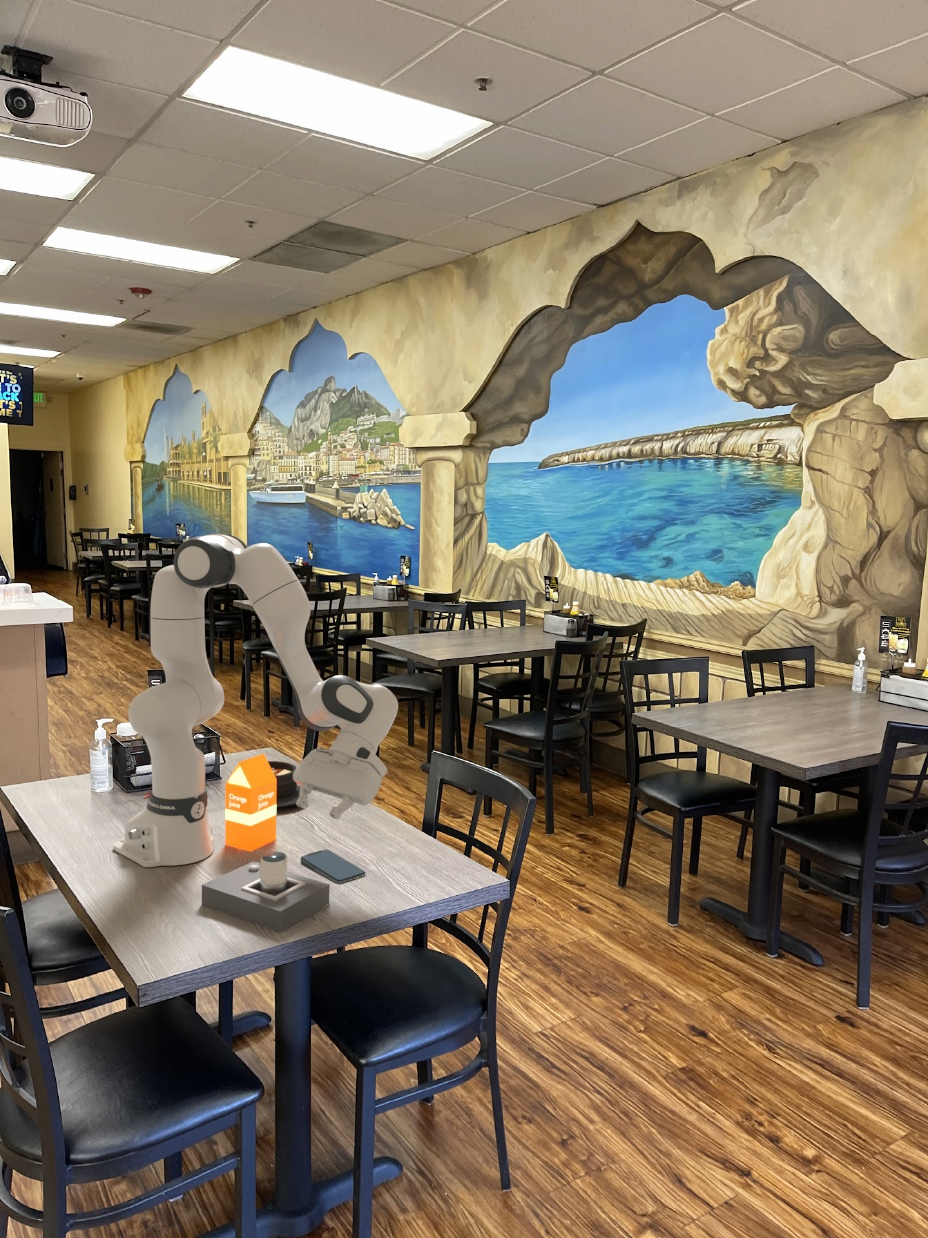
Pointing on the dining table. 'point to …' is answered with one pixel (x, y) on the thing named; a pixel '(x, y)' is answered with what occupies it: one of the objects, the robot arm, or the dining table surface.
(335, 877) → the smartphone
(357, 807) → the dining table surface
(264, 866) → the lens
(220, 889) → the grey socket base
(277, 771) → the casserole
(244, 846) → the orange juice
